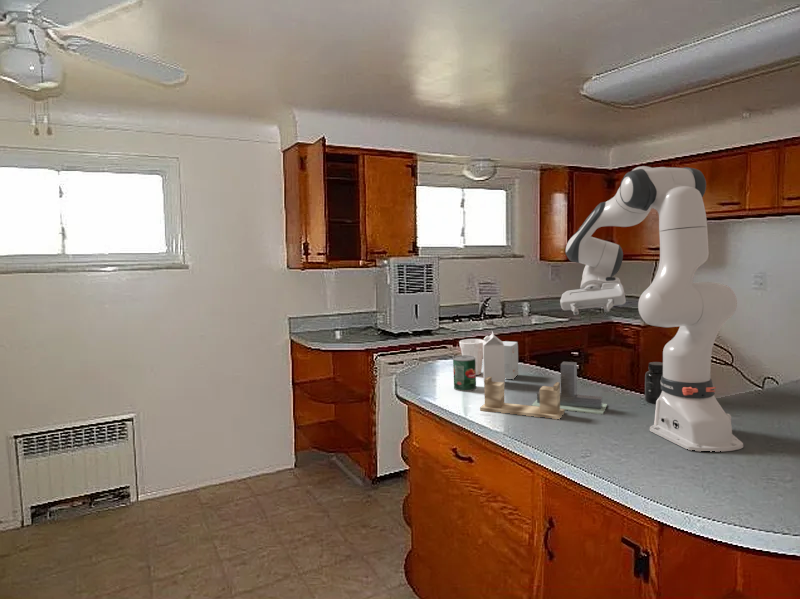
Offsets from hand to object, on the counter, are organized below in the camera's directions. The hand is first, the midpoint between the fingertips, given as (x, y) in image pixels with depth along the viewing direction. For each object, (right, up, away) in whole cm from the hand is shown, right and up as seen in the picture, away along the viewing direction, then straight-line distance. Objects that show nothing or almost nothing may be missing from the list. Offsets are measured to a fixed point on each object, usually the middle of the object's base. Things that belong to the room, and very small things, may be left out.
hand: (590, 311), depth 174 cm
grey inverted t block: (-8, -29, -5) cm, 30 cm away
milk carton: (-27, -27, +24) cm, 45 cm away
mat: (-8, -29, -5) cm, 31 cm away
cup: (-32, -26, +40) cm, 57 cm away
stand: (-24, -30, -8) cm, 39 cm away
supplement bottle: (+19, -28, -4) cm, 34 cm away
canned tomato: (-37, -28, +21) cm, 51 cm away
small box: (-20, -26, +33) cm, 46 cm away
